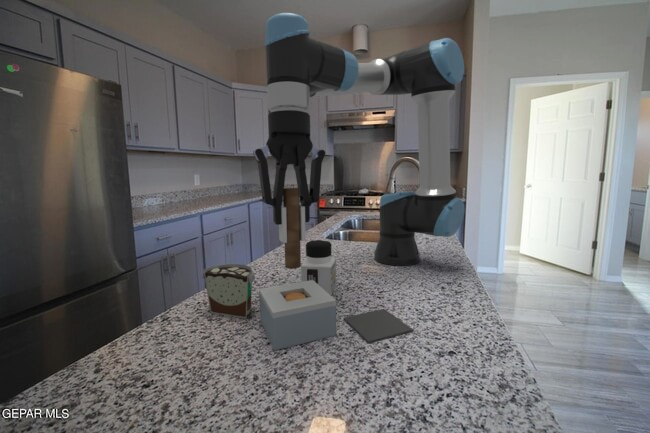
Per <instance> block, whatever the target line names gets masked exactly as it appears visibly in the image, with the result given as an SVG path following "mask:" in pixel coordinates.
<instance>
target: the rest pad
mask: <svg viewBox="0 0 650 433" xmlns="http://www.w3.org/2000/svg"><path fill="white" fill-rule="evenodd" d="M343 320H344V321H345V323H346V324H347V325H349V326H350V328H352V329H353V330H354V332H356V333H357V334H358V336H360V337H361V338H362V339H363V340H364V341H365V342H366V343H367V344H371V343H375V342H379V341H382V340H386V339H390V338H394V337H397V336H401V335H405V334H408V333H412V332H414V329H413V328H412V327H410V326H409V325H407V323H405V322H403V321H402V320H401V319H399V318H398V317H396V316H395V315H393V314H392V313H391V312H389V311H388V310H387V309H385V308H381V309H377V310H372V311H367V312H363V313H362V312H361V313H359V314H354V315H350V316H345V317H343Z"/></svg>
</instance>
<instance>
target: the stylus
mask: <svg viewBox="0 0 650 433" xmlns="http://www.w3.org/2000/svg"><path fill="white" fill-rule="evenodd" d="M300 205H301V204H300V198H299V188H298V187H284V191H283V200H282V206H283V207H286V222H287V243H284V267H285V269H290V270H291V269H292V270H294V269H299V268H301V265H302V261H301V259H302V258H301V253H302V252H301V251H302V250H301V240H300Z"/></svg>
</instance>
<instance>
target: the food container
mask: <svg viewBox="0 0 650 433" xmlns="http://www.w3.org/2000/svg"><path fill="white" fill-rule="evenodd" d="M201 276H202V279H204V281H205V286H206V287H205V288H206V293H207V295H206V296H207V300H208V306H209V312H210V314H215V315H222V316H228V317H232V318H233V317H235V318H239V319H248V318H249V317H250V315H251V313H252V290H253V289H252V286H253V285H252V284H253V283H254V281H255V279H256V277H255V273H254V270H253V269H252V267H251V266H250V265H247V264H242V263H225V264H218V265H213V266H210V267H206V268H204V269H203V271H202V275H201Z"/></svg>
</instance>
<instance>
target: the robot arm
mask: <svg viewBox="0 0 650 433" xmlns="http://www.w3.org/2000/svg"><path fill="white" fill-rule="evenodd" d="M310 32H311V31H310V28H309V23H308V21H307V20H306V19H305V17H304V16H301V15H300V14H297V13H292V12H280V13H276V14H274V15H272V16H271V17H270V18H268V19H267V21H266V25H265V32H264V35H265V38H264V39H265V40H264V41H265V42H264V48H265V64H266V65H265V67H266V70H265V71H266V79H265V81H266V82H265V83H266V89H267V110H268V111H270V113H268V115H267V124H268V126H267V127H268V139H267V141H266V144H265V145H264V146H262V147H259V148H255V149H254V150H253V152H252V154H253V156H254V159H255V161H256V163H257V168H258V176H259V182H260V183H259V184H260V189H261V190H260V191H261V197H262V199H261V200H262V202H263V203H264V204H266V205H269V206H272V211H273V212H272V214H273V223H274V225H277V226H278V241H279V242H280V243H281V242H282V243H283V244H285V243H287V222H286V207H283V191H284V188H285V181H286V173H287V169H288V165H289V166H290V165H291V166H293V170H294V173H295V178H296V179H295V180H296V186H297V188H299V205H300V242H304V241H307V240H306V239H307V238H306V223H309V222H310V220H311V218H310V215H311V212H310V206H312V204H315V203H318V202H319V201H320V193H321V192H320V191H321V179H322V178H321V177H322V165H323V161H324V158H325V156H326V151H325V149H319V148H317V147H315V146H313V145H314V144H313V142H312V140H311V115H310V114H309V111H310V110H311V103H310V102H311V101H310V100H311V99H310V98H316V97H317V98H318V97H329V96H339V95H340V96H341V95H349V94H350V95H351V94H360V93H361V94H362V93H364V94H365V93H368V94H371V95H373V96H384V95H385V96H386V95H388V96H390V95H391V96H392V95H393V96H394V95H395V96H396V95H397V96H398V95H399V96H400V95H409V94H410V99H411V100H412V101H414V102H415V104H416V108H417V109H416V111H417V113H416V114H417V138H418V139H417V142H418V170H419V175H418V176H419V187H418V188H417V190H415V191H414V190H411V191H402V192H395V193H394V192H393V193H385V194H383V195H381V197H380V199H379V200H380V201H379V206H378V209H379V236H378V241H377V243H376V247H375V250H374V256H373V257H374V258H373V259H374V261H376V262H378V263H380V264H383V265H384V264H385V265H389V266H411V265H416V264H418V263H419V262H420V251H419V249H418V245H417V242H416V238H415V234H421V235H422V234H423V235H428V236H429V235H430V236H434V237H445V238H448V237H451V236H453V235H455V234H456V233H457V232H458V230H459V229H460V227H461V225H462V222H463V220H464V215H465V204H464V200H462V199H461V198H459V197H457V190H456V189H455V188H453V187H452V186H451V143H450V142H451V136H450V134H451V131H450V130H451V129H450V128H451V127H450V124H451V122H450V100H451V98H452V97H453V96H454V94H455V93H456V85H458V84H459V83H461V81H462V80H463V78H464V74H465V62H464V57H463V54H462V51H461V48H460V47H459V45H458V44H457V42H456V41H455V40H453V39H452V38H449V37H444V38H440V39H437V40H431V41H429V42H428V43H424V44H422V45H417V46H416V47H413V48H410V49H407V50H403V51H401V52H397V53H395V54H392V55H391V56H387V57H384V58H376V59H372V60H371V61H370V62H359V61H358V59H357V58H356V56H355V55H354V54H352V52H349V51H347V50H345V49H344V48H342V47H337V46H334V45H332V44H328V43H325V42H322V41H320V40H317V39H315V38H313V37H310ZM269 154H271V157H273V158H274V160H275V175H274V176H275V177H274V185H273V192H272V188H271V181H270V173H269V172H270V171H269V165H268V160H267V159H268V158H269ZM309 154H310V158H311V162H310V175H309V176H310V177H309V186H308V179H307V174H306V172H307V171H306V169H307V168H306V167H307V166H306V159H307V158H308V156H309ZM272 193H273V194H272Z"/></svg>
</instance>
